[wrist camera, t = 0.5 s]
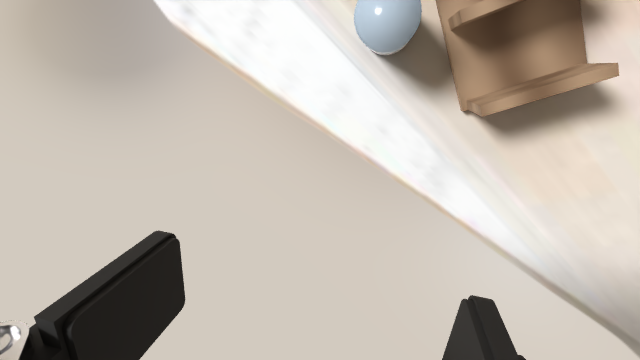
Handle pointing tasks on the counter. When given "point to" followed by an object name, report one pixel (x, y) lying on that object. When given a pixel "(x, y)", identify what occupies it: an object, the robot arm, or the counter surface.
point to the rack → (516, 51)
